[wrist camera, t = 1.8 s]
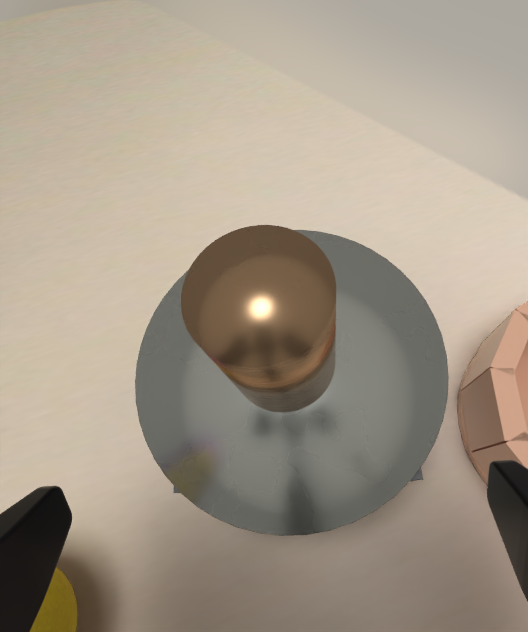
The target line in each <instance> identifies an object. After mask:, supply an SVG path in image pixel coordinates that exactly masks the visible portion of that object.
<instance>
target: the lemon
mask: <svg viewBox="0 0 528 632" xmlns="http://www.w3.org/2000/svg"><path fill="white" fill-rule="evenodd" d="M77 619H78V611H77V600H76V597H75V594H74V591H73V587H72V585H71V584H70V582H69V581H68V579H67V578H66V576H65V574H64V573H63V572H62V571H60V570H59V569H58V568H57V567H56V569H55V571H54V574H53V577H52V580H51V583H50V586H49V588H48V591H47V593H46V596H45V599H44V601H43V603H42V606H41V608H40V610H39V612H38V615H37V617H36V619H35V621H34V623H33V626H32V628H31V630H30V632H76V628H77Z"/></svg>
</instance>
